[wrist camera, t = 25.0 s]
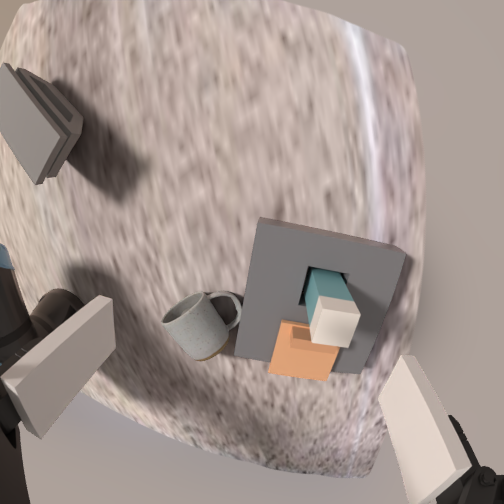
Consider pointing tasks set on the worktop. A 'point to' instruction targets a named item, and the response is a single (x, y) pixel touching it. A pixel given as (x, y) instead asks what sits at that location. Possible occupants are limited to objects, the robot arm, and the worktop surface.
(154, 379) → the worktop surface
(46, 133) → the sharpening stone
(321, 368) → the terracotta shutter
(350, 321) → the teal plug
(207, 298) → the ceramic mug
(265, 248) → the socket block
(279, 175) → the worktop surface
